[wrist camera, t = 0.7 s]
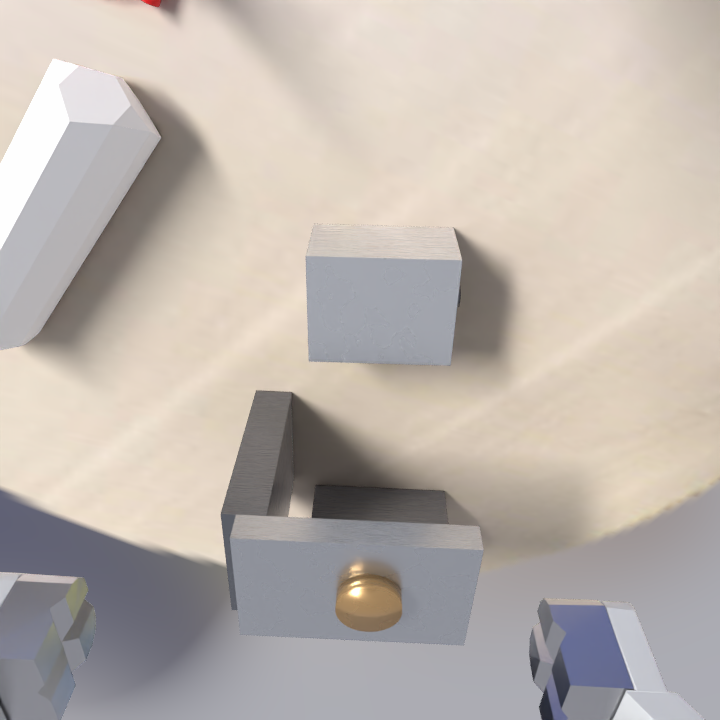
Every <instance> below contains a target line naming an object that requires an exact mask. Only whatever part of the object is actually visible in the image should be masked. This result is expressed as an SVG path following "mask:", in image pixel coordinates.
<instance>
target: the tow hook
mask: <svg viewBox="0 0 720 720" xmlns="http://www.w3.org/2000/svg"><path fill="white" fill-rule="evenodd" d="M141 1H143V2H145V3H147V4H149V5H152V6H155V7H159V6H160V2H161V0H141Z"/></svg>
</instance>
